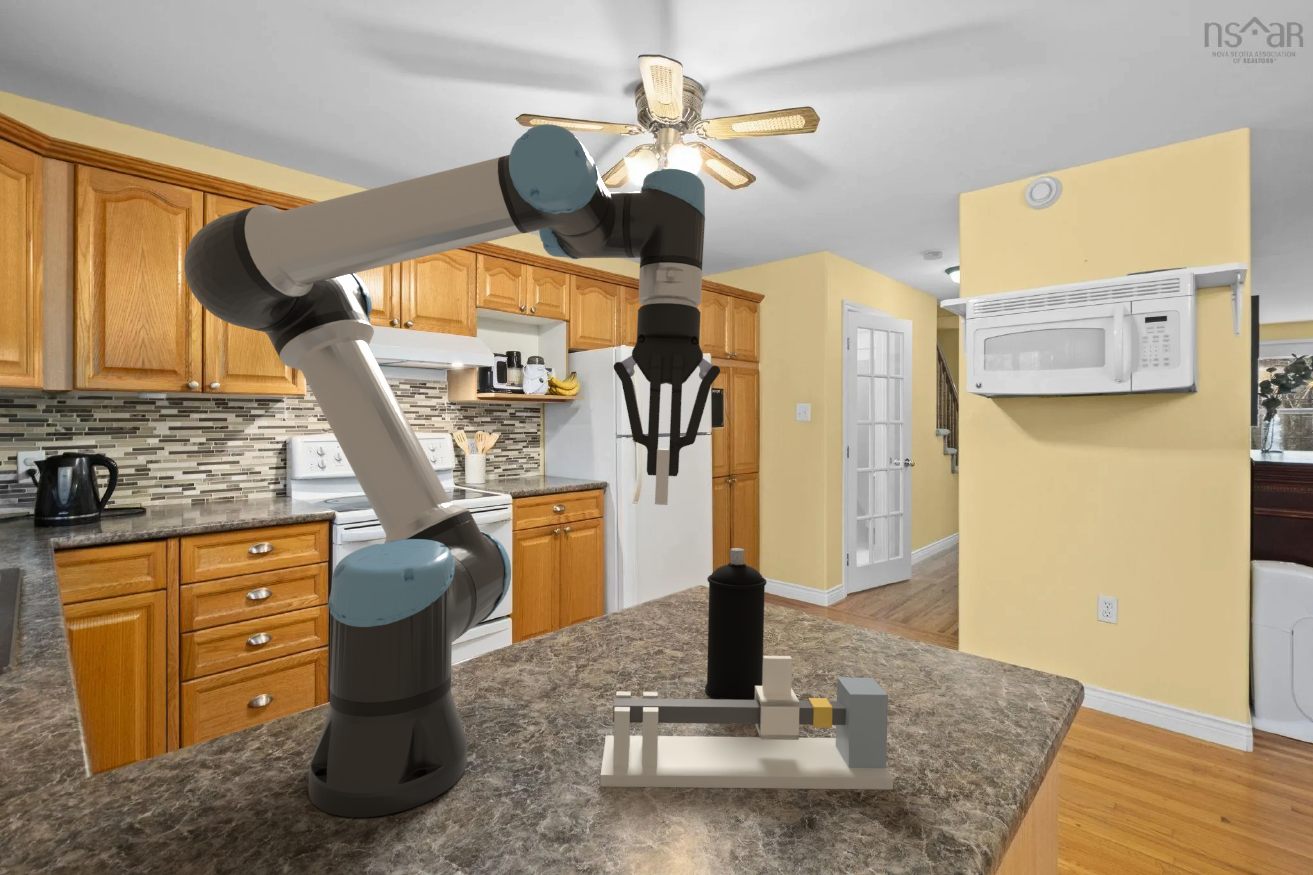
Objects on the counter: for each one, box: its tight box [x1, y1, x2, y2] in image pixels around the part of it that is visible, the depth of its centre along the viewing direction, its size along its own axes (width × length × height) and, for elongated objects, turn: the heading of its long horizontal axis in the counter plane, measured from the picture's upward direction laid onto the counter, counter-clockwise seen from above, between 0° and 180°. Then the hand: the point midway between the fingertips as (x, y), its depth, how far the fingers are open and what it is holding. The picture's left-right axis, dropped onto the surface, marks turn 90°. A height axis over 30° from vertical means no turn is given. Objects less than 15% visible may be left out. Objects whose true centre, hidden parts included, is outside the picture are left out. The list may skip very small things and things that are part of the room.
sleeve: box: [754, 655, 800, 740], centre depth 66 cm, size 4×4×8 cm
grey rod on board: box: [599, 676, 894, 791], centre depth 66 cm, size 30×8×9 cm, turn 91°
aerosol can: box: [704, 547, 768, 700], centre depth 85 cm, size 8×8×20 cm
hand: (661, 503), depth 73 cm, fingers closed
